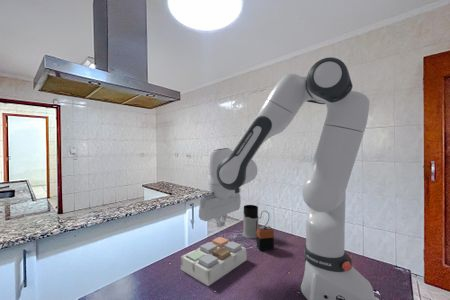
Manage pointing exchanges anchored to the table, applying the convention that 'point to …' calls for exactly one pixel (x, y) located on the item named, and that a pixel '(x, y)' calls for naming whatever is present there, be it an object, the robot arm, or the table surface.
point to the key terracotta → (220, 242)
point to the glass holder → (251, 221)
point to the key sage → (195, 255)
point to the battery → (265, 238)
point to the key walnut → (221, 253)
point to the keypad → (213, 262)
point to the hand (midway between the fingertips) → (220, 226)
